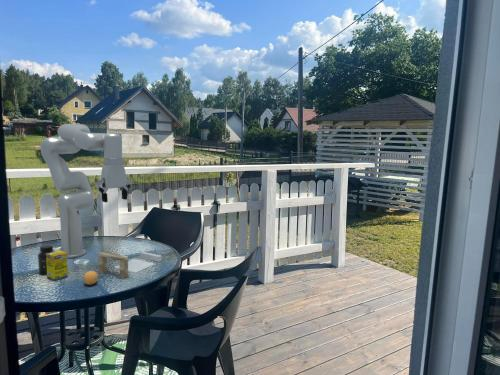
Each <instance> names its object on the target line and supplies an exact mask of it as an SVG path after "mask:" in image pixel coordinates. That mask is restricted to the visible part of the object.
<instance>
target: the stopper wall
mask: <svg viewBox="0 0 500 375" xmlns="http://www.w3.org/2000/svg"><path fill="white" fill-rule="evenodd" d="M139 254H140V257H139V258H140V259H144V260H150V261H153V262H154V261H155V262H159V263H160V262H162V260H163V259H162V258H163V257H162V256H163V255H160V254H156V253H155V254H154V253H152V252H151V253H150V252H146V251H141V252H140V253H139Z"/></svg>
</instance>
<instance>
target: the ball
mask: <svg viewBox="0 0 500 375" xmlns="http://www.w3.org/2000/svg"><path fill="white" fill-rule="evenodd" d="M98 280H99V275H98V273H97V272H95V271H94V270H89V271H87V272H86V273H85V274H84V275H83V282H84V283H85V284H86V285H88V286H89V285H90V286H91V285H94V284H96V283H97V282H98Z"/></svg>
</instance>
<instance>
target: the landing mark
mask: <svg viewBox="0 0 500 375" xmlns="http://www.w3.org/2000/svg"><path fill="white" fill-rule="evenodd" d="M154 265H155V263H154V262H148V261H144V260H141V259H136V258H134V259H131V260H128V272H130V273H134V274H136V273H139V272H141V271H143V270H146V269H147V268H149V267H152V266H154ZM113 268H114V269H118V270H120V266H119V264H118V265H115V266H114V267H113Z"/></svg>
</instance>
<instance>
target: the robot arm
mask: <svg viewBox="0 0 500 375" xmlns="http://www.w3.org/2000/svg"><path fill="white" fill-rule="evenodd" d="M57 135H58V136H50V137H46V138H44V139H42V141H41V143H40V153H41V156H42V158H43V160H44V162H45V163H46V165H47V167H48V169H49V172H50V176H51V179H52V181H53V185H54V187H55V189H56V190H57V191H58V192H64V193H62V194H60V195H59V196H58V198H57V200H56V204H57V208H58V212H59V220H60V222H59V223H60V224H59V225H60V240H61V242H60V243H61V245H60V246H58V247H56V246H55V247H54V246H53V250H52V251H54V252H55V251H58V250H60V251H63V252H66V253H67V259H72V258H78V257H83V256H84V255H86V254H87V251H86V249H84V248H83V227H82V226H83V225H82V217H81V216H80V215H79V213H78V211H83V210H88V209H91V208H93V207H94V205H95V201H96V200H95V196H94V193H93V189H92V186H91V184H90V182H89V179H88V176H87V175H86V174H85V173H84V172H83V171H71V170H70V168H69V165H68V163H67V161H65V159H64V158H63V157H61V156H60V155H65V154H71V155H72V154H76V153H78V152H79V151H81V150H85V151H103V161H104V163H103V165H102V168H101V173H100V174H101V175H100V180H98V181H97V182H96V183H95V184H94V185H95V187H96V189H97V191H99V193H101V201H102V202H101V203H108V202H109V201H108V200H109V199H108V193H107V192H108V190H109V189H119V188H121V199H122V200H126V201H127V200H128V191H129V189H130V187H131V185H132V182H133V180H131V179H130V178H128V177H127V175H126V169H125V165H124V163H125V161H126V160H125V159H124V158H123V140H122V139H123V138H122V135H121V134H119V133H105V132H103V133H101V132H100V133H99V132H91V129H90V128H89V127H88V126H87V125H86V124H83V123H82V124H81V123H63V124H61V125H60V126H59V127H58V129H57ZM71 191H72V192H71Z"/></svg>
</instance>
